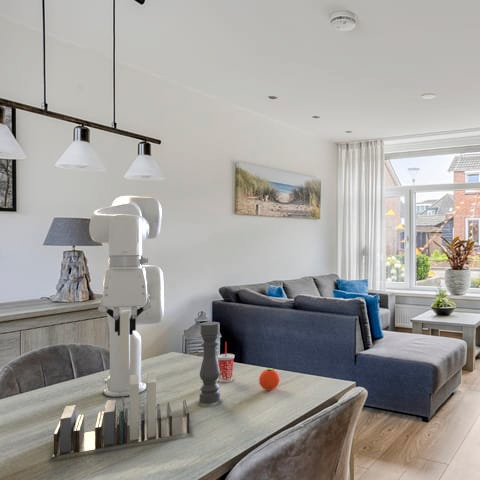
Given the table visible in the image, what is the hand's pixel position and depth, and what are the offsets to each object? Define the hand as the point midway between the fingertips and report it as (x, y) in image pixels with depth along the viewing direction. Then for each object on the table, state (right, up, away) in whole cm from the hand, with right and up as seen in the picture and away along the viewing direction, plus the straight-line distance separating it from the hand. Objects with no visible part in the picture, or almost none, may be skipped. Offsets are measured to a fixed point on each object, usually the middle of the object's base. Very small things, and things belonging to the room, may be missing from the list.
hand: (125, 333), depth 116 cm
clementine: (+29, -27, +39) cm, 56 cm away
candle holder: (+13, -27, +25) cm, 40 cm away
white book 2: (+2, -26, +1) cm, 26 cm away
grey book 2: (-3, -26, -2) cm, 26 cm away
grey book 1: (-11, -26, -6) cm, 29 cm away
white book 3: (+5, -26, +3) cm, 27 cm away
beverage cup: (+12, -27, +48) cm, 57 cm away
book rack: (+1, -27, 0) cm, 27 cm away
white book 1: (0, -9, 0) cm, 9 cm away
